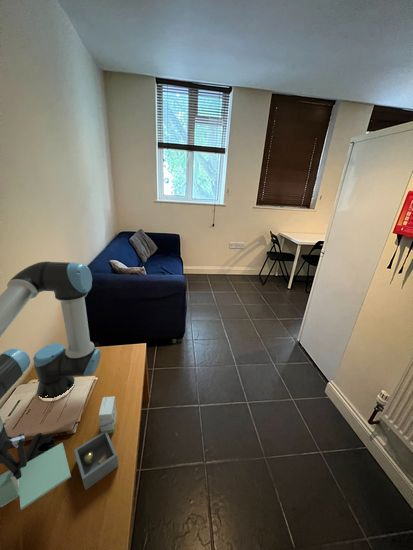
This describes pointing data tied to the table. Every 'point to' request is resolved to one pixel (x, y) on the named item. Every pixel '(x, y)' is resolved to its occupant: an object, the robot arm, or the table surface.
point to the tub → (96, 459)
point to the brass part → (89, 458)
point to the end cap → (39, 446)
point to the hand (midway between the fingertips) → (7, 491)
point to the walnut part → (103, 459)
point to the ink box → (107, 414)
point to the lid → (36, 477)
